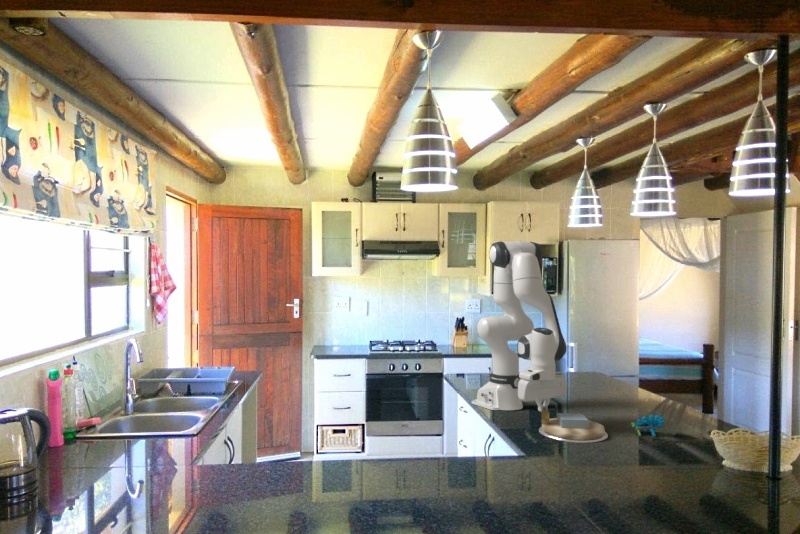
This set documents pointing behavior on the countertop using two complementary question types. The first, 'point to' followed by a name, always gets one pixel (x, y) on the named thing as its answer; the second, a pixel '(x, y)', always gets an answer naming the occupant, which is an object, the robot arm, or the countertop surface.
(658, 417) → the blue toy animal
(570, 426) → the cover
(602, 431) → the turntable
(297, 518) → the countertop surface
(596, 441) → the base
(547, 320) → the robot arm
